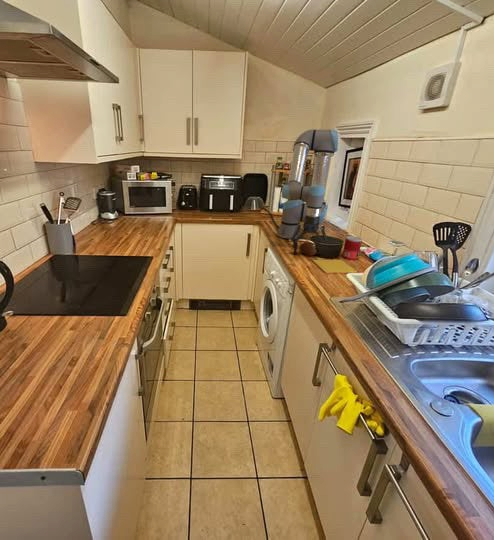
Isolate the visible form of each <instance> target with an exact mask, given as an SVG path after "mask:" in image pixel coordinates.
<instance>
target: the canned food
mask: <svg viewBox="0 0 494 540" xmlns="http://www.w3.org/2000/svg"><path fill="white" fill-rule="evenodd" d="M344 240H345V241H344V245H343V250H342V254H341V255H342V258H344V259H345V260H351V261H355V260H357V259H358V258H359V255H360V251H361V247H362V242H363V238H361V237H359V236H356V235H355V236H354V235H347V236H346V237H345V239H344Z"/></svg>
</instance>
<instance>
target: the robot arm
mask: <svg viewBox="0 0 494 540" xmlns="http://www.w3.org/2000/svg"><path fill="white" fill-rule="evenodd" d="M338 149H339V132H338V130H336V129H313V128H312V129H307V130H306V131H304V132H302V133H301V134H299V136H298V137H297V138H296V140H295V141H294V144H293V147H292V152H293V154H292V160H291V164H290V169H289V174H288V179H287V184H283V185H282V188H281V198H282V199H286V201H284V202H283V205H282V208H281V209H282V211H281V219H280V220H281V221H280V224H279V225H278V224H277V223H276V221H275V220H274V219H275V218H274V217H273V215H272V213H271V212H270V211H269V210H268V209H266V207H264V206H262V207H261V209H264V210H265V211H266V212H267V213H269V215H270V216H271V220H272V222H273V223H274V225H275V226H276V227H277V228H278V229H277V231H276V237H278V238H280V239H285V240H290V241H291V242H292V248H293V254H294V255H297V251H298V245H299V244H298V242H299V240H301V238H302V237H303V236H304V235H306V234H315V235H316V237H317V239H318V240H319V242H320V241H323V240H325V241H328V239H327V238H328V237H327V234H326V231H325V228H326V226H325V225H324V224H322V223H323V222H324V220H325V217H326V216H327V215H326V214H327V210H328V207H329V205H328V204H327V201H326V200H325V195H326V194H325V193H326V189H327V184H328V183H327V182H328V177H329V172H330V167H331V166H330V165H331V159H332V157H334V156H335V153H336V152H338ZM310 151H311V152H313V155H314V157H315V161H314V166H313V173H312V179H311V184H310V186H309V185H307V186H305V185H302V182H303V177H304V172H305V166H306V161H307V155H308V154H309V152H310ZM303 201H306V202H303ZM263 207H264V208H263ZM301 223H303V224H301ZM320 224H321V225H320ZM302 228H303V229H302ZM301 229H302V231H301ZM318 230H320V232H321V235H322V236H321V235H320V233H319V232H318ZM322 238H323V239H322Z"/></svg>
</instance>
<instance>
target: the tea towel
mask: <svg viewBox="0 0 494 540" xmlns="http://www.w3.org/2000/svg"><path fill="white" fill-rule="evenodd" d="M312 261H313V263H314V264H315V265H317V266H318V267H319V269H321V271H323V272H324V273H325V274H331V273H332V274H335V273H337V274H339V273H343V274H344V273H345V274H347V273H358V270H356V269H355V268H353V267H352V266H350V265H349V264H348V263H347V262H346V261H344V260H343V259H312Z"/></svg>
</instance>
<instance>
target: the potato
mask: <svg viewBox="0 0 494 540" xmlns="http://www.w3.org/2000/svg"><path fill="white" fill-rule="evenodd" d="M299 250H300V252H301V254H303V255H305V256H310V257H311V256H315V255H316V254H317V249H316V248H315V247H314V246H313V244H311V243H310V242H303V243H301V244H300V245H299Z"/></svg>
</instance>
